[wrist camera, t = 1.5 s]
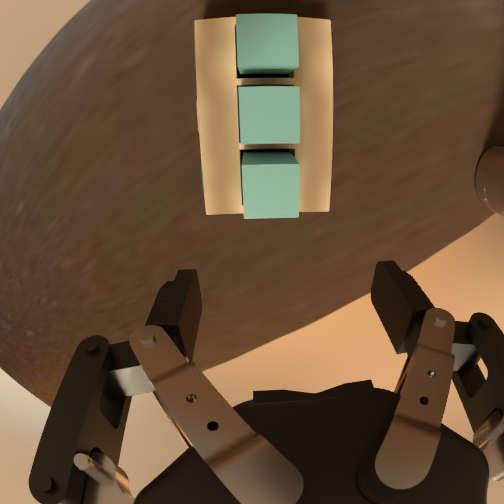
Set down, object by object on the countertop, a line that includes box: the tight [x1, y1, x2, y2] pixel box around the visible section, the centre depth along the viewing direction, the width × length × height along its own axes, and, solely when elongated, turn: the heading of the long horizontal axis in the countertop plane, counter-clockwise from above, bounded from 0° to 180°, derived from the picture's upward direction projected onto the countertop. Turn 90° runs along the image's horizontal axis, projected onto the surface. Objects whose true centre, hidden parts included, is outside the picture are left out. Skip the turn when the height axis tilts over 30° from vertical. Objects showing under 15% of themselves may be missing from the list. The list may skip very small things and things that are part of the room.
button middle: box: [238, 86, 300, 144], centre depth 22 cm, size 4×4×6 cm
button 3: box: [242, 152, 300, 219], centre depth 25 cm, size 4×4×6 cm
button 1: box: [236, 14, 299, 75], centre depth 19 cm, size 4×4×6 cm
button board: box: [194, 17, 333, 215], centre depth 25 cm, size 12×19×4 cm, turn 2°
